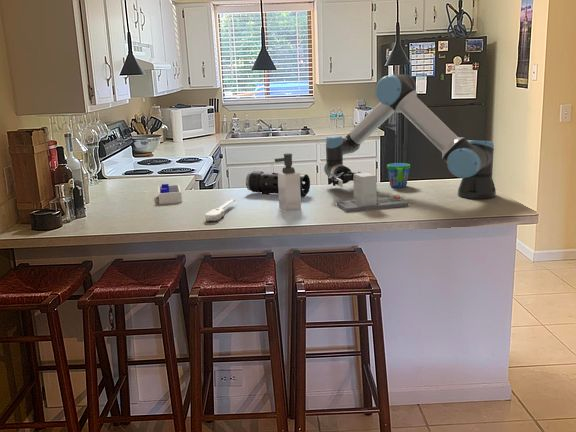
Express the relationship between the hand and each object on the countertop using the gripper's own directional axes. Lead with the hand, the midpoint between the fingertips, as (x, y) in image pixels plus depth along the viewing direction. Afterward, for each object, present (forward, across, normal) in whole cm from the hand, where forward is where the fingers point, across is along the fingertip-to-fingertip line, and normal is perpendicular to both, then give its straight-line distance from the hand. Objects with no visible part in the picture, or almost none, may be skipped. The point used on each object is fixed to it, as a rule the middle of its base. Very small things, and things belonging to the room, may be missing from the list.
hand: (357, 182), depth 234 cm
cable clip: (-38, +76, -9) cm, 86 cm away
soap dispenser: (0, +30, -9) cm, 31 cm away
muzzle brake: (-28, +28, -9) cm, 40 cm away
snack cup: (-24, -28, -9) cm, 38 cm away
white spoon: (-2, +56, -9) cm, 56 cm away
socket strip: (+7, -3, -8) cm, 12 cm away
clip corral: (-38, +75, -8) cm, 85 cm away
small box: (+7, 0, -9) cm, 11 cm away
